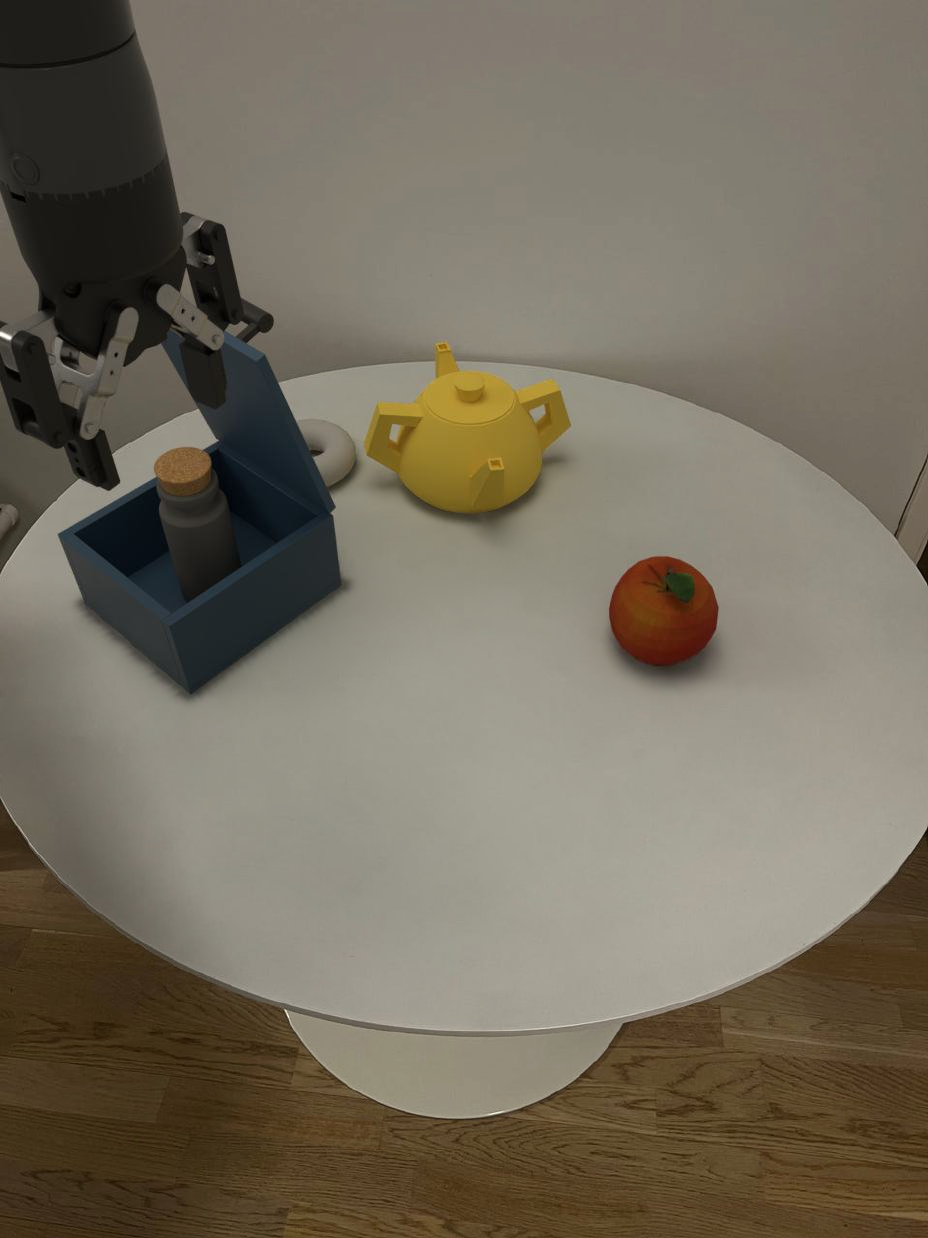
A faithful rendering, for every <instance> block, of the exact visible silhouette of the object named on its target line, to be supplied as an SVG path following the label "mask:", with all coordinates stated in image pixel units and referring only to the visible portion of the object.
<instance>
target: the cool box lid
mask: <svg viewBox="0 0 928 1238" xmlns="http://www.w3.org/2000/svg"><path fill="white" fill-rule="evenodd" d="M214 289H215V288H214ZM215 294H216V295H217V296H218V294H217V291H216V289H215ZM241 301H242V305H243V310H244V314H243V318H242V320H241V322H242V323H243V324H246V325H247V326H246V327H245V328H243V329H242V330H241V331H240V332H238V333H237V335H233V334H232V333H230V332H228V331H226V330H225V331H224V342H223V345H222V346H221V353H222V358H223V363H224V368H225V374H226V379H227V389H226V391H225V396H226V403H224V404H223V405H222V406H220V407H219V408H218V409H212V408H210V407H208V406H205V405H203V404H201V403H198V402H196V401H195V400H194V399H193V398H192V400H193V402H194V404H195V405H196V407H197V408H198V410H199V412H200V415H202V417H203V419H204V421H205V423H206V424H207V426H208V427H209V429H210V432H211V433H212V434H213V437H214V438H215V439H216V440H217V441H221V442H222V443H224V444H225V445H227V446H228V447H230V448H231V449H233V450H234V451H236V452H237V453H239V454H240V455H242V456H243V457H245V458H246V459H248V460H249V461H251V462H252V463H254V464H255V465H257V466H258V467H260V468H261V469H263V470H264V471H266V472H267V473H269V474H270V475H272V476H273V477H275V478H276V479H278V480H279V481H281V482H282V483H284V484H285V485H287V486H288V487H290V488H291V489H293V490H294V491H296V492H297V493H299V494H300V495H302V496H303V497H305V498H306V499H308V500H309V501H311V502H312V503H314V504H315V505H317V506H318V507H320V508H321V509H323V510H324V511H326V512H327V513H329V514H330V513H331V514H332V512H333V511H334V510H335V509H336V508H337V506H336V504H335V502H334V500H333V498H332V495H331V493H330V491H329V489H328V486H327V487H326V484H325V482H324V480H323V478H322V476H321V474H320V472H319V469H318V467H317V465H316V463H315V461H314V459H313V457H314V456H313V454H312V452H311V450H309V448H308V446H307V444H306V441H305V439H304V437H303V435H302V433H301V431H300V429H299V426H298V424H297V422H296V421H297V420H296V417H295V416H294V414H293V413H294V412H293V411H292V410H291V408H290V407H291V406H290V405H289V403H288V400H287V398H286V397H285V394H284V392H283V390H282V387H281V385H280V383H279V382H278V381H279V380H278V379H277V377H276V375H275V373H274V371H273V369H272V366H271V363H270V361H269V360H268V358H267V355H266V353H264V352H262V351H261V350H259V349H257V348H255V347H253V346H252V345H250V344H248V343H249V342H250V341H251V340H252V339H253V338H255V336H257V335H258V334H259V333H262V334H266V333H267V334H268V333H269V332H270V331H271V330H272V329H273V327H274V323H275V319H274V316H273V315H272V314H271V313H270V312H268V311H266V310H264V309H263V308H260V307H258V306H257V305H255V304H254V303H252V302H250V301H248V300H247V299H244V298H243V297H241ZM167 338H168V339H166V340H165V341H163V342H162V343H160V346H162V348H163V350H164V352H165V354H166V355H167V358H169V360H170V362H171V363H172V365H173V367H174V369H175V371H176V372H177V374H178V377H180V379H181V381H182V383H183V385H184V386H185V388H186V390H187V391H188V393H189V394H190V392H189V387H188V383H187V379H186V374H185V370H184V366H183V362H182V357H181V353H180V349H179V344H180V343H182V342H183V341H185V338H182V337H180V336H179V335H177V334H176V333H174V332H173V331H172V330H170V329H169V331H168V332H167Z"/></svg>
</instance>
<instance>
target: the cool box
mask: <svg viewBox="0 0 928 1238" xmlns="http://www.w3.org/2000/svg"><path fill="white" fill-rule="evenodd" d="M202 450H203V451H205V452H206V453H207V454H208V455H209V456H210V458H211V468H212V469H213V470H214V471H215V472H216V474H217V477H218V482H219V489H220V490H221V491H222V492H223V493H224V494H225V496H226V499H227V503H228V507H229V511H230V516H231V520H232V524H233V529H234V533H235V538H236V542H237V547H238V552H239V556H240V561H241V565H242V567H241V568H239V569H238V570H236V571H235V572H233V573H232V574H230V575H229V576H227V577H226V578H224V579H223V580H221V581H220V582H218V583H217V584H215V585H214V586H212V587H211V588H209V589H208V590H206V591H205V592H203V593H202V594H200V595H199V596H197V597H196V598H194V599H193V600H191V601H190V602H189V603H188V602H187V601H186V600H185V598H184V596H183V593H182V590H181V587H180V584H179V580H178V577H177V574H176V570H175V567H174V563H173V560H172V557H171V553H170V550H169V546H168V543H167V539H166V536H165V532H164V529H163V525H162V522H161V518H160V514H159V505H160V502H161V499H160V498H159V495H158V492H157V487H156V484H157V480H158V478H157V476H155V477H153V478H151V479H150V480H148V481H146V482H144V483H143V484H141V485H139V486H138V487H136V488H134V489H132V490H130V491H129V492H127V493H126V494H124V495H122V496H121V497H118V498H117V499H115V500H114V501H112V502H110V503H108V504H107V505H105V506H104V507H102V508H100V509H98V510H96V511H94V512H93V513H91V514H89V515H88V516H86V517H84V518H83V519H81V520H79V521H77V522H76V523H74V524H72V525H71V526H69V527H66V528H65V529H64V530H62V531H60V532H59V533H57V537H58V539H59V542H60V545H61V547H62V550H63V552H64V555H65V557H66V560H67V562H68V565H69V567H70V569H71V573H72V574H73V577H74V579H75V582H76V584H77V587H78V589H79V592H80V595H81V597H82V600H83V602H84V605H85V606H87V607H88V608H89V609H90V610H92V611H93V612H94V613H95V614H96V615H97V616H99V617H100V618H101V619H102V620H103V621H104V622H105V623H107V624H108V625H109V626H110V627H111V628H112V629H113V630H115V631H116V632H117V633H119V635H121V636H122V637H123V638H124V639H125V640H126V641H128V642H129V644H131V645H132V646H133V647H135V648H136V649H137V650H138V651H139V652H141V653H142V654H143V655H144V656H145V657H146V658H148V659H149V660H150V661H151V662H152V663H153V664H155V666H156V667H158V668H159V669H160V670H162V671H163V672H164V673H165V674H166V675H167V676H169V678H171V679H172V680H173V681H174V682H175V683H176V684H178V685H179V686H180V687H181V688H182V689H184V690H185V691H186V692H187V693H188V694H189V695H193V694H194V693H196V691H198V690H199V689H201V688H202V687H203V686H205V685H206V684H207V683H209V682H210V681H212V680H213V679H214V678H217V676H219V675H220V674H222V673H223V672H225V670H227V669H228V668H230V667H231V666H233V665H234V664H236V662H238V661H239V660H240V659H242V658H243V657H244V656H246V655H248V654H249V653H250V652H251V651H253V650H254V649H256V648H257V647H258V646H260V645H261V644H263V643H264V642H265V641H266V640H268V639H270V638H271V637H272V636H273V635H275V634H276V633H278V632H279V631H280V630H282V629H283V628H284V627H286V626H288V625H289V624H290V623H291V622H292V621H294V620H295V619H297V618H298V617H300V616H301V615H302V614H303V613H305V612H307V611H308V610H309V609H310V608H312V607H313V606H315V605H316V604H317V603H319V602H320V601H321V600H323V599H325V598H326V597H327V596H328V595H330V594H331V593H333V592H334V591H335V590H337V589H339V587H341V586H342V578H341V570H340V561H339V551H338V543H337V536H336V527H335V519H334V514H332V512H331V513H330V514H329V513H327V512H326V511H324V510H323V509H321V508H320V507H318V506H317V505H315V504H314V503H312V502H311V501H309V500H308V499H306V498H305V497H303V496H302V495H300V494H299V493H297V492H296V491H294V490H293V489H291V488H290V487H288V486H287V485H285V484H284V483H282V482H281V481H279V480H278V479H276V478H275V477H273V476H272V475H270V474H269V473H267V472H266V471H264V470H263V469H261V468H260V467H258V466H257V465H255V464H254V463H252V462H251V461H249V460H248V459H246V458H245V457H243V456H242V455H240V454H239V453H237V452H236V451H234V450H233V449H231V448H230V447H228V446H227V445H225V444H224V443H222V442H221V441H219V440H217V441H215V442H214V443H212V444H211V445H208V446H207V447H205V448H203V449H202Z"/></svg>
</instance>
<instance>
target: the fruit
mask: <svg viewBox="0 0 928 1238" xmlns="http://www.w3.org/2000/svg"><path fill="white" fill-rule="evenodd" d="M719 609H720V607H719V604H718V600H717V597H716V594H715V590H714V588H713V586H712V584H711V583H710V582H709V580H708V579H707V578H706V577H705V576H704V574H703V573H702V572H701V571H700V570H698V569H697V568H695V567H694V566H693V565H692V564H690V563H688V562H686V561H684V560H681V559H679V558H676V557H672V556H666V555H665V556H664V555H663V556H662V555H658V556H657V555H656V556H651V557H647V558H645V559H642V560H639V561H637V562H636V563H634V564H633V565H632V566H630V567H629V568H628V569H627V570H626V571H625V572H624V573H623V574H622V576H621V577H620V578H619V580H618V582H617V583H616V585H615V586H614V589H613V592H612V594H611V598H610V601H609V606H608V619H609V623H610V628H611V632H612V634H613V636H614V638H615V640H616V641H617V643H618V645H619V646H620V647H621V649H622V650H624V651H625V652H626V653H627V654H629V656H630V657H632V658H634V660H637V661H639V662H641V663H644V664H646V665H651V666H657V667H662V666H663V667H664V666H673V665H676V664H679V663H682V662H683V663H684V662H686V661H689V660H691V659H692V658H693V657H695V656H696V655H698V654H699V653H700V652H701V651H704V649H705V648H706V647H707V646H708V644H709V643H710V641H711V640H712V638H713V636H714V634H715V633H716V630H717V628H718V627H717V626H718V620H719Z"/></svg>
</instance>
